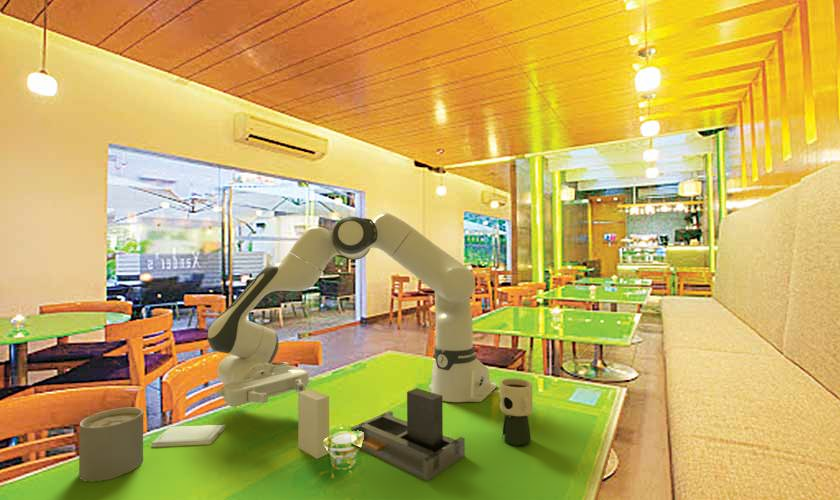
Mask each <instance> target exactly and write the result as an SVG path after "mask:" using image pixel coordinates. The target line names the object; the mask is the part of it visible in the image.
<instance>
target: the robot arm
mask: <svg viewBox="0 0 840 500" xmlns="http://www.w3.org/2000/svg"><path fill="white" fill-rule="evenodd" d="M371 248H372V249H373V248H374V249H379V250H381V251H383V252H384V253H385V254H387V255H388V256H389V257H390V258H391V259H393V260H394V261H395V262H397V263H398V264H399V265H401V266H402V267H403V268H404V269H406V270H407V271H408V272H410V273H411V274H412V275H413V276H415V277H416V278H417V279H418V280H420V281H421V282H422V283H423V284H425V285H426V286H427V287H428V288H430V289H431V290H432V291H434V308H435V309H434V312H435V345H434V348H433V349H434V350H433V355H434V361H433V363H432V374H431V383H429V384H428V385H429V386H428V388H429V390H430V392H431V393H435V394H438V395H442V402H448V403H449V402H450V403H466V402H471V403H472V402H475V403H480V402H482V401H483V400H485V399H487V397H488V396H489V395H490V394H491V393H492V391H493V390H494V389H495V388H496V387H497V388H498V384H497V383H496V382H494V381H492V380H490V371H489V368H488V367H487V366H486V365H484V364H483V362H481V361H480V360H479V359H478V358H477V354H480V353H481V349H482V348H481V346H479V345H474V343H473V338H474V337H473V333H474V332H473V329H474V327H473V325H474V324H473V323H474V322H473V321H474V319H473V315H472V305H471V296H472V295H473V294H474V292H475V290H476V289H475V288H476V279H475V278H476V277H475V276H474V273H473V272H472V270H470V269H469V268H468V267H467V266H465V265H464V264H463V263H461V262H460V261H459V260H457V259H455V258H454V257H453V256H451V255H450V254H448V253H447V251H445V250H443V249H442V248H440V247H439V246H438V245H436V244H435V243H434V242H432V241H431V240H430V239H429V238H428V237H426V236H424V235H423V234H422V233H420V231H418V230H417V229H415V228H414V227H412V226H411V225H410V224H409V223H407V222H405V221H404V220H403V219H401V218H398V217H397V216H395V215H393V214H391V213H388V212H382V213H380V214H378V215H377V216H376V217H375V218H373V220H372V219H371V218H364V217H359V216H353V215H352V216H345V217H343V218H341V219H339V220H338V221H337V222H336V223H335V225H334V227H333V229H332V230H330V229H329V230H328V229H327V228H325V227H323V226H318V225H315V226H314V225H313V226H310V227H309V228H307V229H306V230H305V231H304V232H303V233H302V234H301V236H300V237H299V238H298V239H297V240H296V242H295V243H294V244H293V246H292V247H291V249H290V250H289V252H288V253H287V255H286V256H284V258H282V260H281V261H279V262H277V263H276V264H269V265H267V266H266V267H265V268H264V269H262V270H261V271H260V272H259V273H258V274H257V276H255V277H254V278H253V280H251V282H249V284H248V285H247V286H246V288H244V289H243V291H242V292H241V293H239V295H238V296H237V298H236V299H234V301H233V302H232V303H231V304H230V305H229V306H228V308H227V309H226V310H224V311H223V312H222V313H221V314H219V315H218V316H217V317H216V318H215V319H214V321H213V322H212V323H211V324H210V326H209V327H208V330H207V332H206V338H207V342H208V344H209V346H210V348H211V350H212V351H214V352H216V353H222V354H228V355H226V356H225V357H224V358H223V359H222V360H221V361H220V362H219V364H218V366H217V377H218V380H219V381H220V382H221V383H222V384H223V386H221V387H220V388H219V389H217V390H216V395H217V396H219V397H223V401H224V402H225V404H227V405H228V406H229V407H238V406H239V407H240V406H243V405H246V404H249V403H260V404H264V403H268V402H269V398H270V397H273V396H274V397H275V396H279V395H282V394H285V393H288V392H291V391H295V392H297V393H298V392H302V391H305V390H306V388H307V387H308V386H309V383H310V375H309V374H310V373H309V371H307V370H305V369H303V368H301V367H297V366H295V365H290V363H289V362H286V361H281V362H280V361H279V362H273V361H274V359H275V358H276V355H277V353H278V350H279V347H280V346H279V344H280V343H279V337H278V333H277V331H276V330H274V329H272V328H270V327H267V326H265V325H262V324H259V323H256V322H253V321H251V320H248V319H246V318H247V316H249V314H250V313H251V312H252V311H253V309H254V308H256V306H257V305H258V304H259V302H261V301H262V300H263V298H264V297H265V296H267V295H268V294H270V293H272V292H278V291H287V292H288V291H289V292H300V291H305V290H308V289H311V287H313V286H314V285H315V284H316V283H317V282H318V281H319V279H320V278H321V276H322V274H323V273H324V270H325V269H326V268H327V266H328V264H329V263H330V261H331V260H332V259H333V258H334V257H336V258H337V257H339V258H343V259H346V260H353V261H355V260H360V259H362V258H364V257H365V256H366V255H368V253H369V252H370V250H371ZM497 388H496V389H497ZM496 389H495V390H496ZM495 390H494V391H495ZM494 391H493V392H494Z"/></svg>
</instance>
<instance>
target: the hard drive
mask: <svg viewBox="0 0 840 500" xmlns="http://www.w3.org/2000/svg"><path fill="white" fill-rule="evenodd" d="M225 429H226V424H217V425H215V424H210V425H209V424H208V425H187V426H184V425H182V426H170V427H169V428H167V429H166V430H164V432H162V433H161V434H160V435H159V436H157V437H156V438H155V439H154V440H152V442H151V445H150V446H151V448H158V447H161V448H162V447H163V448H164V447H179V446H180V447H181V446H200V445H211V444H212V443H213V442H214V441H215V440H216V439H217V438H218V436H220V434H221V433H222V432H223V431H224V430H225Z"/></svg>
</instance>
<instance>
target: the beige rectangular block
mask: <svg viewBox="0 0 840 500" xmlns="http://www.w3.org/2000/svg"><path fill="white" fill-rule="evenodd" d="M297 395H298V396H297V397H298V399H297V403H298V404H297V405H298V406H297V410H298V411H297V412H298V413H297V415H298V416H297V417H298V418H297V420H298V423H297V424H298V427H297V430H298V431H297V433H298V436H297V438H298V445H297V446H298V449H299V450H301V451H303V452H304V453H306V454H307V455H309V456H312V457H313V458H315V459H316V460H317V459H319V458H322V457H324V456H327V455H328V454H330V452H329V453H328V451H327V450H326V448H325V447H324V445H323V440H324V439H325V438H327V437H329V438H330V396H329V395H326V394H324V393H323V392H320V391H316V390H313V389H311V388H308V389H305V391H302V392H297Z"/></svg>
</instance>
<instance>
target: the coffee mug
mask: <svg viewBox="0 0 840 500" xmlns="http://www.w3.org/2000/svg"><path fill="white" fill-rule="evenodd" d="M78 427H79V429H78V430H79V436H78V439H79V442H78V443H79V446H78V447H79V451H78V452H79V454H78V455H79V456H78V460H79V461H78V462H79V463H78V469H79V470H78V478H79V477H80V478H81V479H82V480H86V481H99V482H103V481H102V480H105V481H109V480H113V479H116V477H117V478H119V477H122V476H124V475H123V474H125V475H126V473H127V474H129V473H131V472H132V470H133V469H134V470H136V469H137V468H138V466H139V465H140V464H141V465H142V464H143V462H144V410H143V409H142V408H140V407H133V406H130V407H129V406H128V407H127V406H126V407H118V408H113V409H107V410H104V411H100V412H97V413H94V414H91V415H88V416H87V417H86V418H84V419H82V420H81V421H80V422H79V425H78ZM141 465H140V466H141ZM135 468H136V469H135ZM134 470H133V471H134ZM130 471H131V472H130ZM128 472H129V473H128ZM121 475H122V476H121ZM118 476H119V477H118ZM80 478H79V479H80ZM112 478H113V479H112ZM108 479H109V480H108ZM82 480H81V481H82Z"/></svg>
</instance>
